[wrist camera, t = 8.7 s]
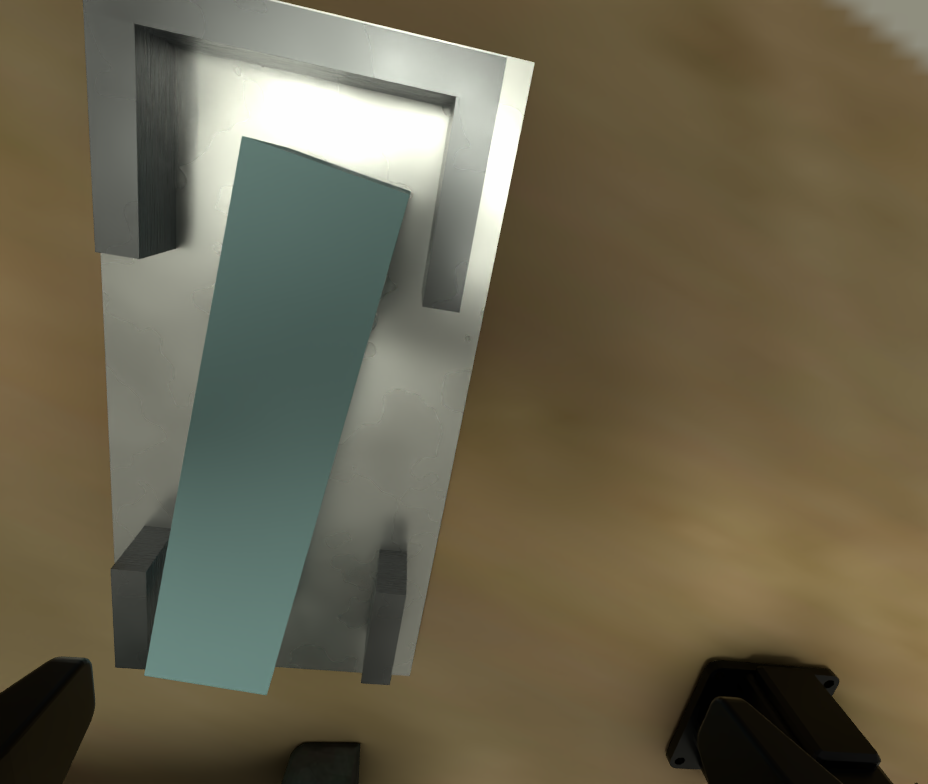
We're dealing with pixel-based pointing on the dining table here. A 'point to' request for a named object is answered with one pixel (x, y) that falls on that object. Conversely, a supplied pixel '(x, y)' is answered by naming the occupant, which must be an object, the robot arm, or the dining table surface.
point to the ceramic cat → (323, 764)
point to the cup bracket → (197, 259)
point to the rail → (269, 408)
